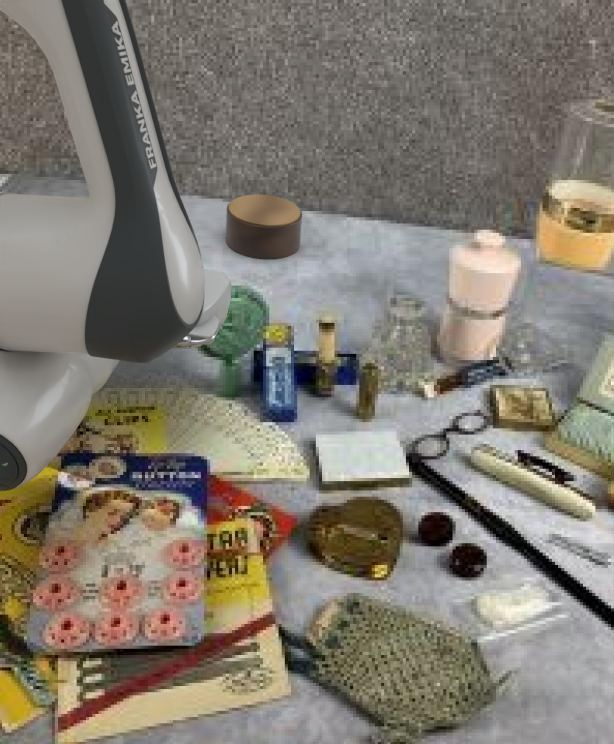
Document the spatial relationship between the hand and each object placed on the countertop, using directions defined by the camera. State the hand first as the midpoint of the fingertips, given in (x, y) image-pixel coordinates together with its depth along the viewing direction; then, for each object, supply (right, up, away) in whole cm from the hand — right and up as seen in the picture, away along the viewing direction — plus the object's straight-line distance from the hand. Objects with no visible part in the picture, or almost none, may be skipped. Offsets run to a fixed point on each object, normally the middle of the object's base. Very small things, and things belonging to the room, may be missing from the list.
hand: (128, 245), depth 81 cm
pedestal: (+6, +4, +24) cm, 24 cm away
